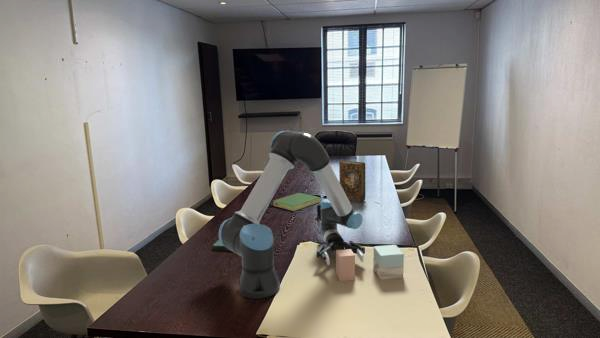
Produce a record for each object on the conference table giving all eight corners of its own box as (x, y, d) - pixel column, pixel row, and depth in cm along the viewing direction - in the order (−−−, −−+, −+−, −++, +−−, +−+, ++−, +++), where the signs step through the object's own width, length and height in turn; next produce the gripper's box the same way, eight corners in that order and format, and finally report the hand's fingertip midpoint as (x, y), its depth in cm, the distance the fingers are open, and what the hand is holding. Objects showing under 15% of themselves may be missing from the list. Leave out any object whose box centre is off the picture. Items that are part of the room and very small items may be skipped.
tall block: (336, 273, 158) (335, 250, 156) (350, 272, 159) (350, 249, 157) (339, 281, 152) (339, 256, 150) (354, 279, 153) (354, 255, 151)
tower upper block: (373, 258, 160) (373, 246, 159) (395, 256, 161) (395, 244, 160) (380, 268, 151) (380, 255, 150) (403, 266, 152) (403, 253, 151)
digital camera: (324, 219, 224) (323, 207, 222) (317, 216, 228) (316, 205, 226) (336, 214, 231) (336, 202, 229) (329, 212, 235) (329, 201, 233)
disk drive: (249, 244, 192) (221, 242, 195) (249, 238, 192) (220, 236, 195) (242, 253, 182) (212, 250, 186) (242, 247, 182) (211, 245, 185)
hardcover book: (299, 198, 269) (298, 192, 268) (320, 202, 256) (320, 197, 256) (271, 206, 251) (271, 201, 250) (293, 212, 239) (292, 206, 238)
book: (338, 199, 260) (338, 162, 255) (342, 197, 265) (341, 160, 260) (361, 203, 252) (361, 164, 247) (365, 200, 256) (365, 162, 251)
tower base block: (373, 269, 161) (373, 257, 160) (394, 267, 162) (395, 256, 161) (380, 279, 153) (380, 267, 152) (403, 277, 154) (403, 265, 153)
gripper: (360, 245, 180) (376, 266, 159) (306, 250, 176) (314, 272, 156) (361, 230, 178) (376, 248, 157) (305, 234, 175) (314, 253, 154)
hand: (345, 260), depth 157 cm, fingers open, 13 cm apart
